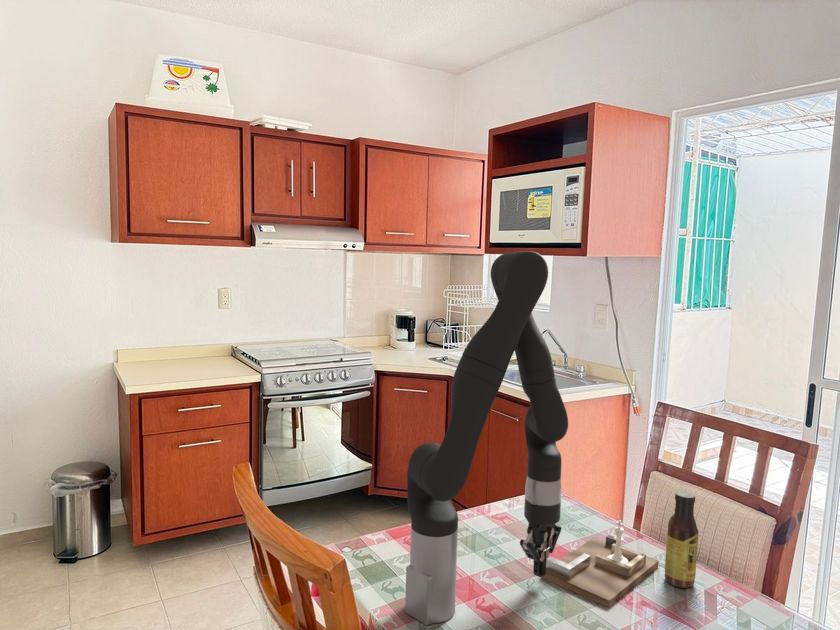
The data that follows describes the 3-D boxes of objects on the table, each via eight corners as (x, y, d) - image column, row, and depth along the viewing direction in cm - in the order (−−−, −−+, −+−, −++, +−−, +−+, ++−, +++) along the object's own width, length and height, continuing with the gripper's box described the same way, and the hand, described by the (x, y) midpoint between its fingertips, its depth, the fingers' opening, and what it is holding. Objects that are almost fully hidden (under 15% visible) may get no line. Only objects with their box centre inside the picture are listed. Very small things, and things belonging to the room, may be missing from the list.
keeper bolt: (569, 578, 130) (569, 569, 129) (545, 567, 134) (546, 559, 134) (590, 564, 136) (590, 555, 136) (566, 554, 140) (567, 546, 140)
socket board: (608, 607, 122) (609, 591, 121) (541, 577, 133) (542, 562, 133) (658, 566, 139) (659, 552, 138) (594, 542, 150) (595, 529, 150)
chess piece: (612, 555, 141) (614, 514, 140) (632, 562, 137) (635, 520, 136) (602, 562, 137) (604, 520, 136) (622, 570, 134) (625, 527, 133)
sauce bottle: (692, 593, 128) (698, 503, 126) (661, 584, 131) (667, 496, 130) (696, 579, 134) (702, 493, 132) (666, 571, 137) (672, 487, 135)
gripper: (544, 484, 134) (541, 558, 136) (509, 500, 125) (506, 579, 127) (574, 494, 129) (570, 570, 131) (540, 511, 120) (537, 593, 121)
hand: (539, 574), depth 129 cm, fingers closed
